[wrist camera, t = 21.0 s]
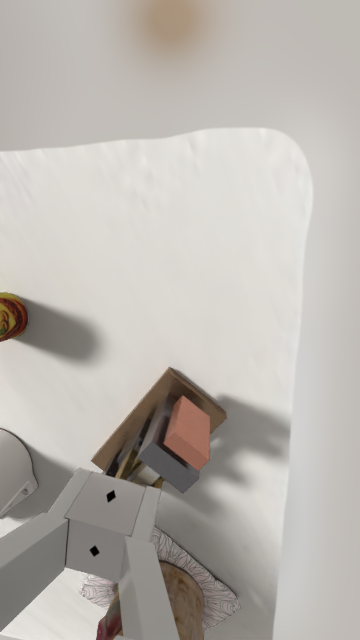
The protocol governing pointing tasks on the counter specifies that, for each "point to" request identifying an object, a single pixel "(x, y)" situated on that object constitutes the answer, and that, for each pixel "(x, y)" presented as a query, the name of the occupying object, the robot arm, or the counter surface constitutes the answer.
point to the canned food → (12, 316)
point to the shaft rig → (157, 432)
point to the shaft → (182, 440)
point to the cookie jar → (169, 594)
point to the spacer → (133, 468)
